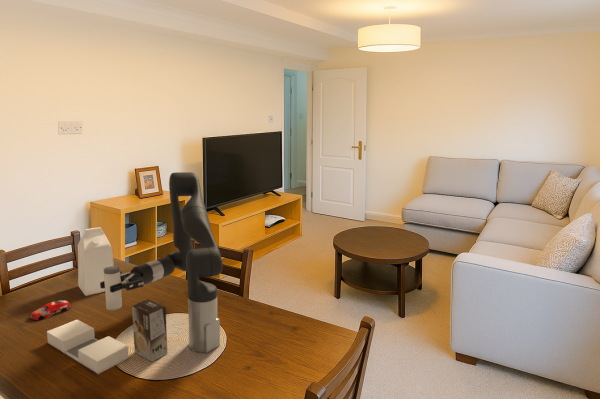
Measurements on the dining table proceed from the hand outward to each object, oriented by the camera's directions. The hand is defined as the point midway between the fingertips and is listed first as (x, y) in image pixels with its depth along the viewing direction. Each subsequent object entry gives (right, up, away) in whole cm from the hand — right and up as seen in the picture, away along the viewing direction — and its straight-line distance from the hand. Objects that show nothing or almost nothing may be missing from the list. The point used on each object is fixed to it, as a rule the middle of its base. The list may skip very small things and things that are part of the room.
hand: (105, 287), depth 144 cm
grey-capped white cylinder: (+1, -7, +4) cm, 8 cm away
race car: (-26, -13, +14) cm, 32 cm away
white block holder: (-2, -18, -9) cm, 20 cm away
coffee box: (+18, -19, -9) cm, 28 cm away
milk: (-20, -8, +37) cm, 43 cm away
